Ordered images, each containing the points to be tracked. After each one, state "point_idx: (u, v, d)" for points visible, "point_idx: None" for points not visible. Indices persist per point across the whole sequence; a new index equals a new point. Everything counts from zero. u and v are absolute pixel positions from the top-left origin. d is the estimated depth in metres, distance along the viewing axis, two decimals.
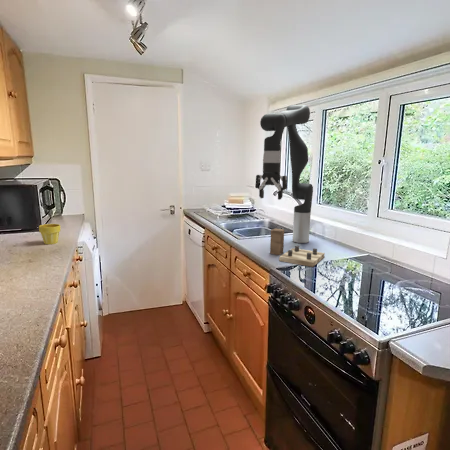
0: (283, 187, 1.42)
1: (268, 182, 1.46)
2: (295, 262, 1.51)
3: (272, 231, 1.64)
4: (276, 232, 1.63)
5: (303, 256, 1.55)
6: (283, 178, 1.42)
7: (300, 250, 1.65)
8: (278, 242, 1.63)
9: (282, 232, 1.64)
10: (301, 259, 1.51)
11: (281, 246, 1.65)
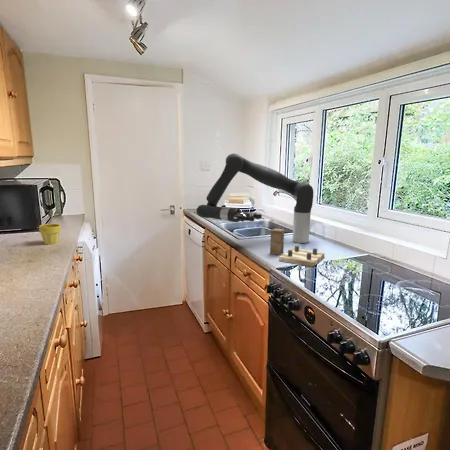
0: None
1: None
2: (295, 262, 1.51)
3: (272, 231, 1.64)
4: (276, 232, 1.63)
5: (303, 256, 1.55)
6: (235, 220, 1.69)
7: (300, 250, 1.65)
8: (278, 242, 1.63)
9: (282, 232, 1.64)
10: (301, 259, 1.51)
11: (281, 246, 1.65)
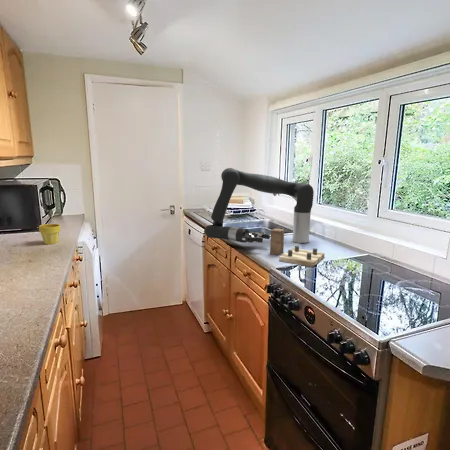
0: None
1: None
2: (295, 262, 1.51)
3: (272, 231, 1.64)
4: (276, 232, 1.63)
5: (303, 256, 1.55)
6: None
7: (300, 250, 1.65)
8: (278, 242, 1.63)
9: (282, 232, 1.64)
10: (301, 259, 1.51)
11: (281, 246, 1.65)
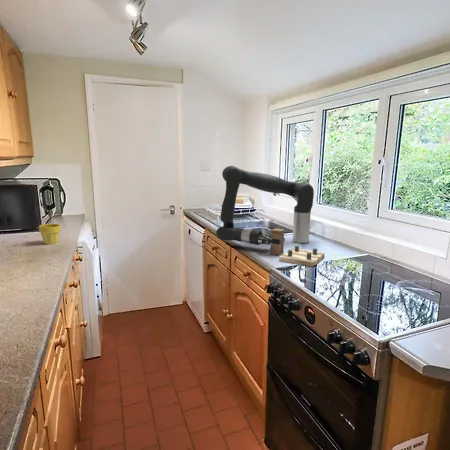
0: None
1: None
2: (295, 262, 1.51)
3: (272, 231, 1.64)
4: (276, 232, 1.63)
5: (303, 256, 1.55)
6: None
7: (300, 250, 1.65)
8: None
9: (282, 232, 1.64)
10: (301, 259, 1.51)
11: (281, 246, 1.65)
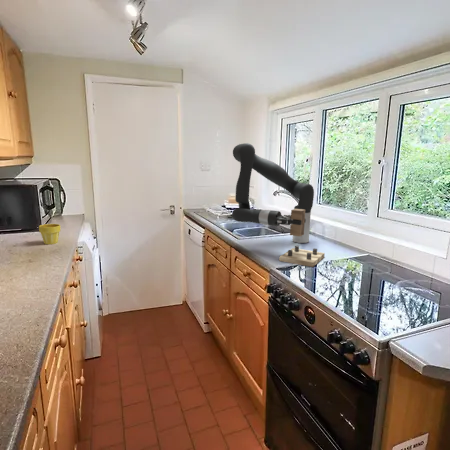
0: None
1: None
2: (295, 262, 1.51)
3: (292, 211, 1.54)
4: (296, 212, 1.53)
5: (303, 256, 1.55)
6: None
7: (300, 250, 1.65)
8: None
9: (303, 212, 1.55)
10: (301, 259, 1.51)
11: (302, 227, 1.56)
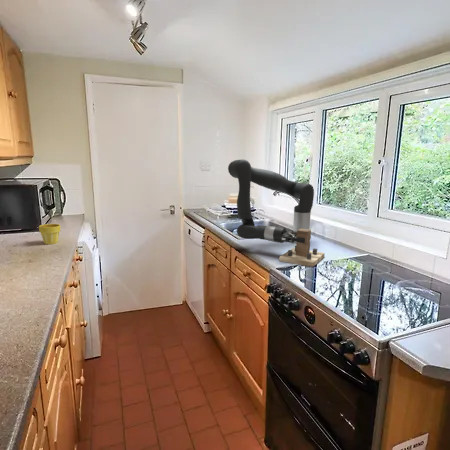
0: None
1: None
2: (295, 262, 1.51)
3: (298, 231, 1.54)
4: (302, 233, 1.53)
5: None
6: None
7: None
8: (305, 243, 1.54)
9: (309, 232, 1.55)
10: (301, 259, 1.51)
11: (308, 247, 1.56)
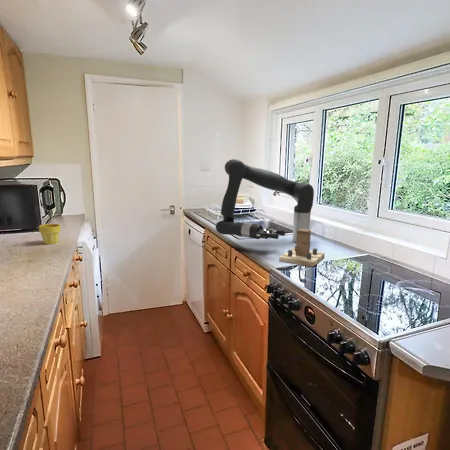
0: None
1: None
2: (295, 262, 1.51)
3: (298, 231, 1.54)
4: (302, 233, 1.53)
5: None
6: None
7: None
8: (305, 243, 1.54)
9: (309, 232, 1.55)
10: (301, 259, 1.51)
11: (308, 247, 1.56)
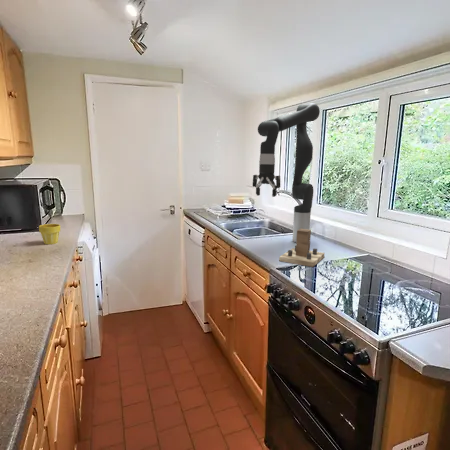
0: (277, 186, 1.62)
1: (264, 181, 1.65)
2: (295, 262, 1.51)
3: (298, 231, 1.54)
4: (302, 233, 1.53)
5: None
6: (277, 178, 1.61)
7: None
8: (305, 243, 1.54)
9: (309, 232, 1.55)
10: (301, 259, 1.51)
11: (308, 247, 1.56)
